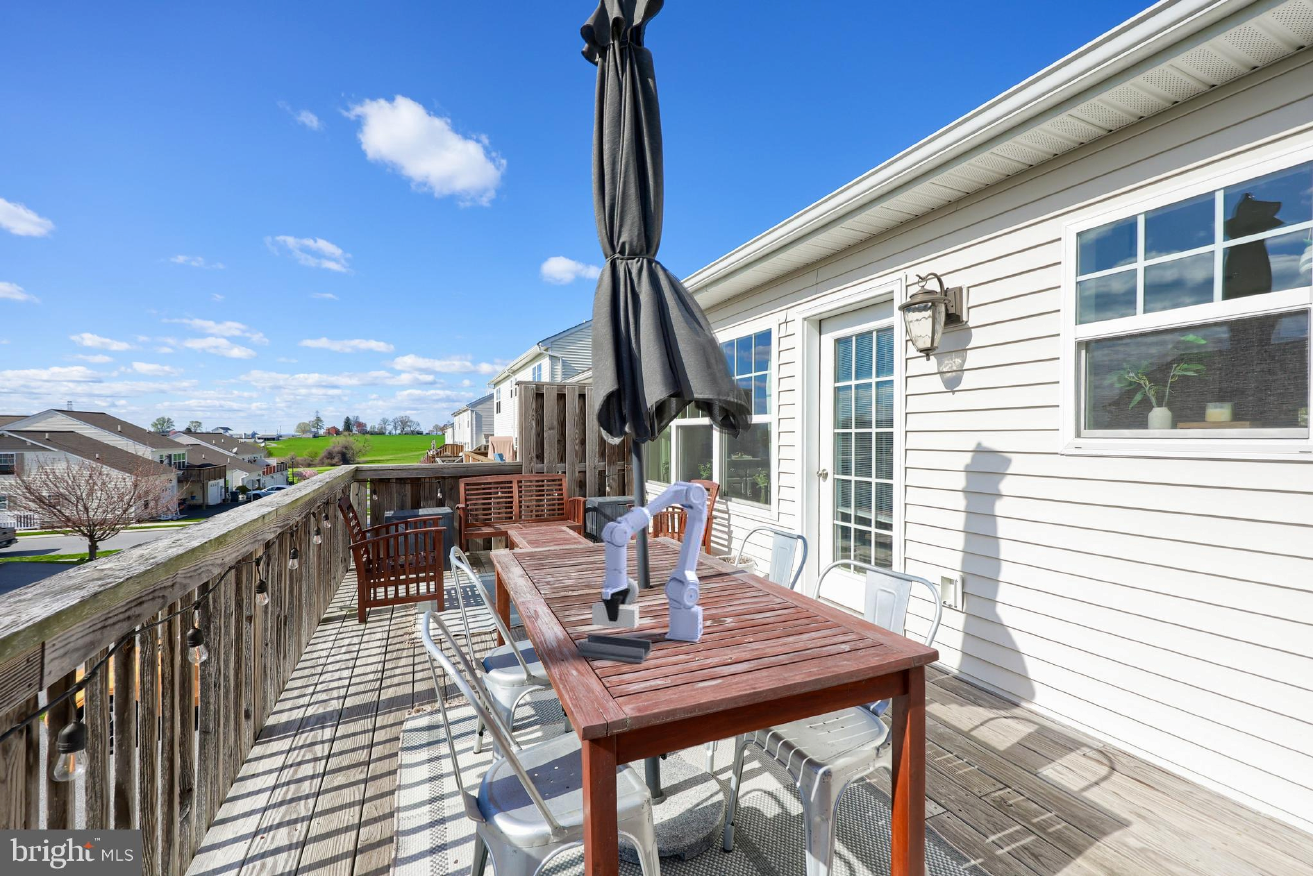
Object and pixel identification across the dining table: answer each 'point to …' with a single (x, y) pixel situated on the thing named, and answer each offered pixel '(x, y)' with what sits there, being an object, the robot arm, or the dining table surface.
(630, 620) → the grey metal bar
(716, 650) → the dining table surface
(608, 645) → the grey u-channel tray
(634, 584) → the donut
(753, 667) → the dining table surface
